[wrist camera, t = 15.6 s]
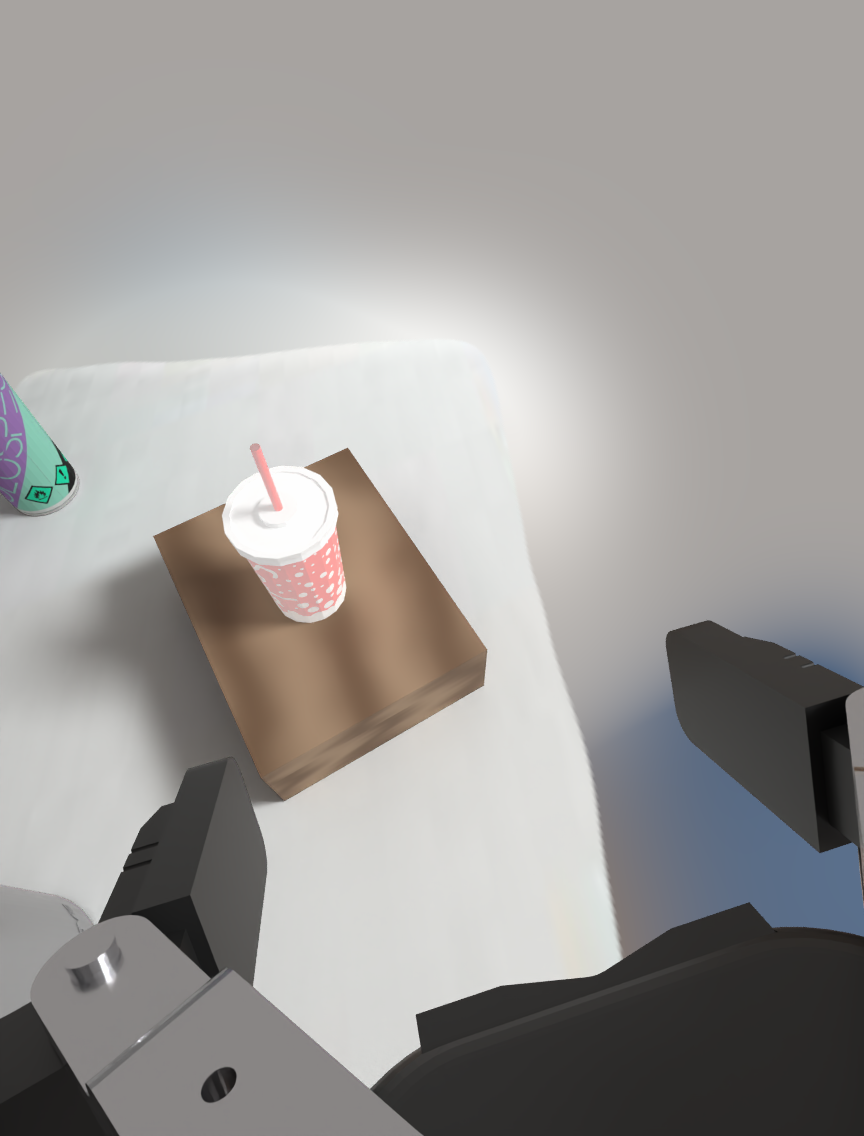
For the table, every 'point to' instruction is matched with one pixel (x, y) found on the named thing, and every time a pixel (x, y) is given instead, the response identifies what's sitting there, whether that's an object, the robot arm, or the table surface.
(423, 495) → the table surface
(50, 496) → the spray can
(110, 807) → the table surface
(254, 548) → the beverage cup
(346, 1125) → the robot arm
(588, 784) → the table surface
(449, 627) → the walnut shelf stand
